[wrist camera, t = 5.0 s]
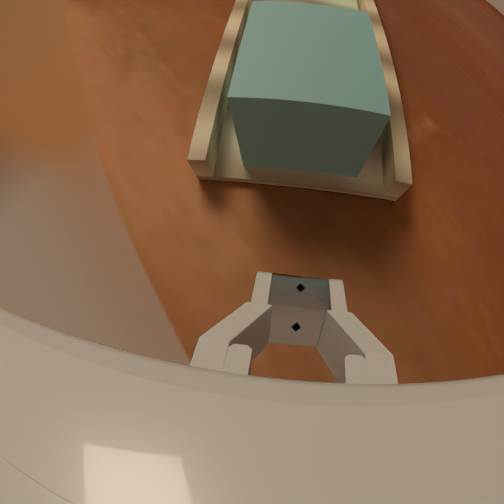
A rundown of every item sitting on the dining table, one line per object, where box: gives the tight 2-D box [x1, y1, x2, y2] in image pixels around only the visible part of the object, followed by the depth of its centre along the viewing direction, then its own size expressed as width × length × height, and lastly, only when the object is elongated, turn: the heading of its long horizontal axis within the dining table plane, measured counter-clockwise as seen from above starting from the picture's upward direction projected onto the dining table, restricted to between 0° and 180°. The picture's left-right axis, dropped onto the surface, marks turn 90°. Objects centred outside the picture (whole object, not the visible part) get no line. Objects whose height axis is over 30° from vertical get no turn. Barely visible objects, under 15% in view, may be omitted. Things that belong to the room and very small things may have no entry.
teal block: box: [227, 1, 391, 178], centre depth 17 cm, size 10×8×8 cm
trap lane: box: [187, 0, 412, 201], centre depth 22 cm, size 38×14×3 cm, turn 173°
